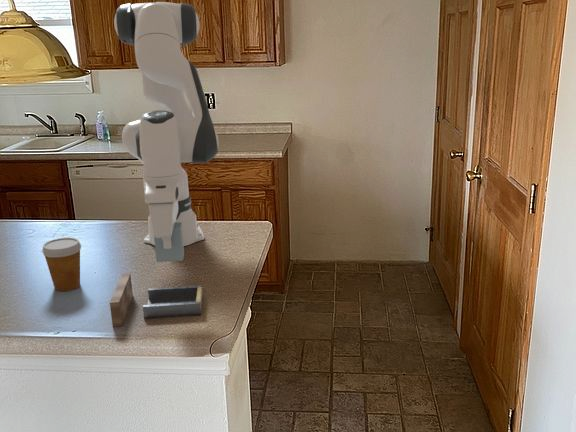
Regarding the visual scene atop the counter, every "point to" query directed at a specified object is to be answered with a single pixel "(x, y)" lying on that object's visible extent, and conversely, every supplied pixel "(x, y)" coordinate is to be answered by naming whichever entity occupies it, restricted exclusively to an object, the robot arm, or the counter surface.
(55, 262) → the disposable coffee cup
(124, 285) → the brown wooden board
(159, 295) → the keeper
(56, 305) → the counter surface
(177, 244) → the block
